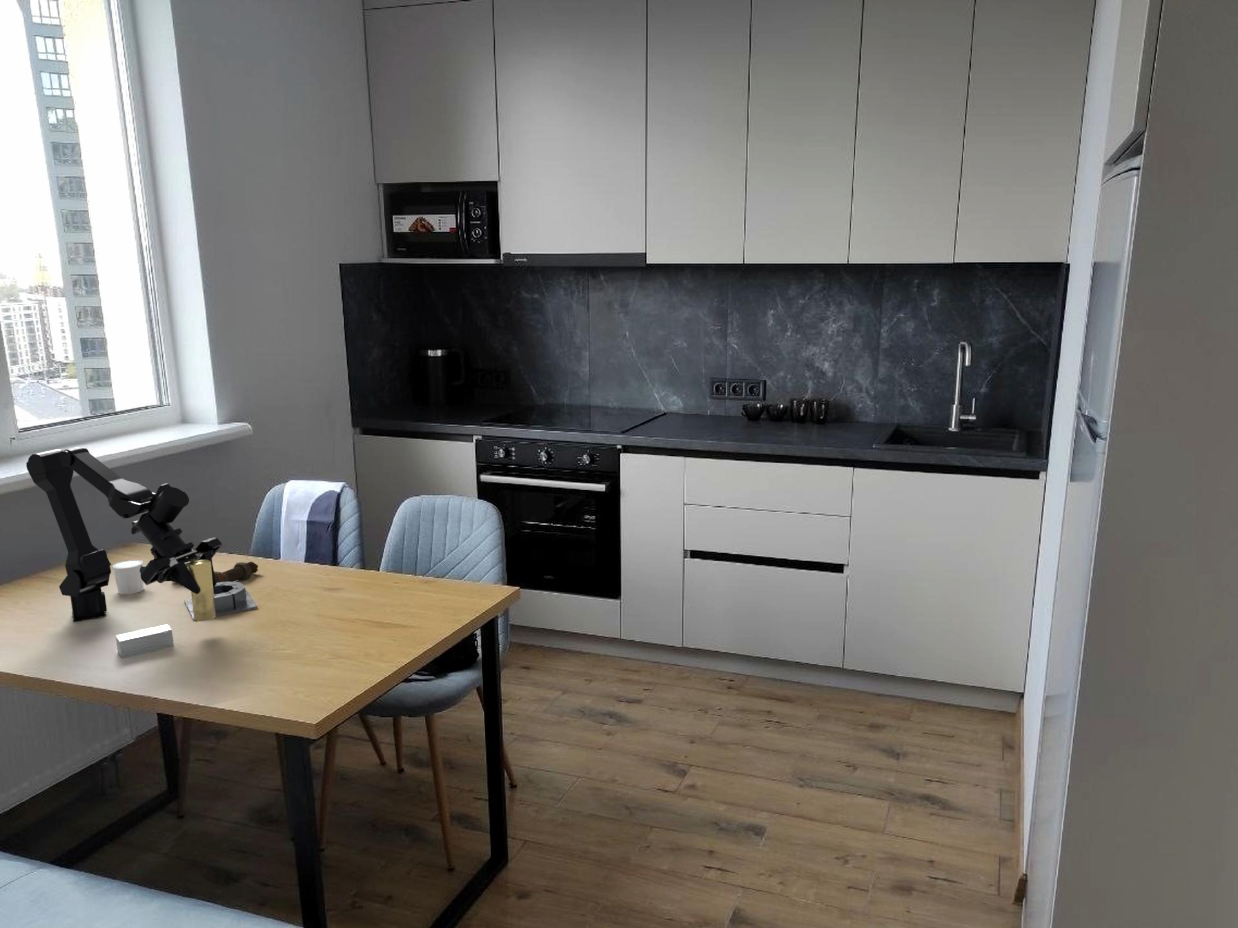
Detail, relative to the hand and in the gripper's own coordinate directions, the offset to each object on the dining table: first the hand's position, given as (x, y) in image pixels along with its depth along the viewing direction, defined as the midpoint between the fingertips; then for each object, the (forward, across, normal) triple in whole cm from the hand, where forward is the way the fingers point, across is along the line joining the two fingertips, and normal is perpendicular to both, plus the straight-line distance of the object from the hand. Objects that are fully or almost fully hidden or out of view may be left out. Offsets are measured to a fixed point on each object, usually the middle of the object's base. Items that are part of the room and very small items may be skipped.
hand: (207, 589), depth 202 cm
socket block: (0, -15, -16) cm, 22 cm away
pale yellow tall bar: (+4, 0, -6) cm, 7 cm away
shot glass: (-21, -16, -37) cm, 45 cm away
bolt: (-6, -30, -22) cm, 37 cm away
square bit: (+2, +11, -13) cm, 17 cm away
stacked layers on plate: (-16, -28, -32) cm, 46 cm away
